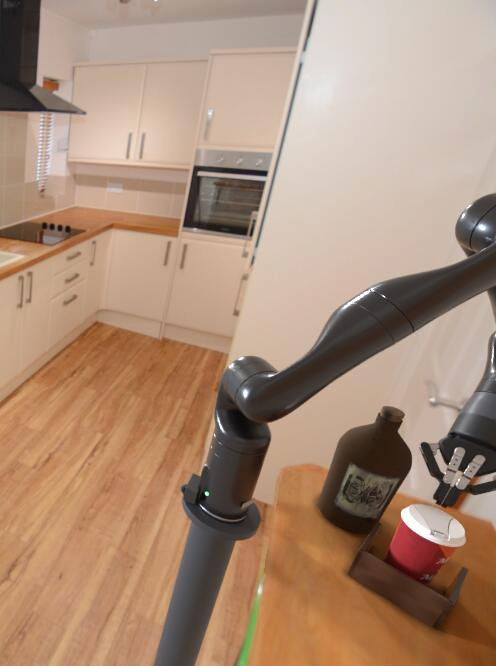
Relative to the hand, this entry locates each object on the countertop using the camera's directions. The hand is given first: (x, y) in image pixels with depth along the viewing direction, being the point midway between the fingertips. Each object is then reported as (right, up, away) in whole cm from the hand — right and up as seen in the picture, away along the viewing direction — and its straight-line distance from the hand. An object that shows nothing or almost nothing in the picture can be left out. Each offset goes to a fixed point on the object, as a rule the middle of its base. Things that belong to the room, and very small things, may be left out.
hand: (441, 505), depth 81 cm
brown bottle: (-9, -6, +10) cm, 15 cm away
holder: (-10, -12, -3) cm, 16 cm away
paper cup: (-9, -12, -2) cm, 15 cm away
